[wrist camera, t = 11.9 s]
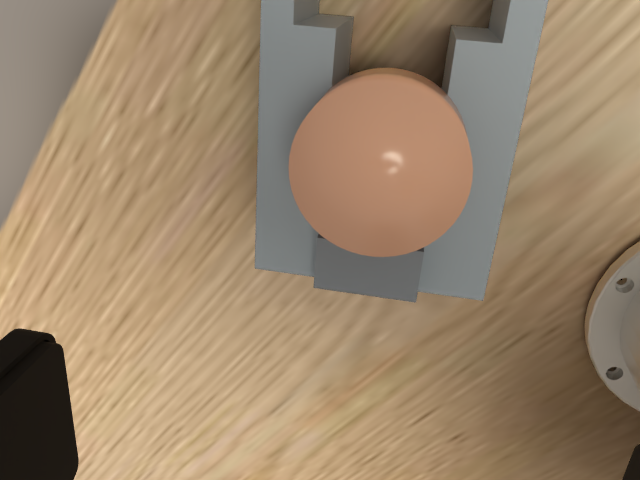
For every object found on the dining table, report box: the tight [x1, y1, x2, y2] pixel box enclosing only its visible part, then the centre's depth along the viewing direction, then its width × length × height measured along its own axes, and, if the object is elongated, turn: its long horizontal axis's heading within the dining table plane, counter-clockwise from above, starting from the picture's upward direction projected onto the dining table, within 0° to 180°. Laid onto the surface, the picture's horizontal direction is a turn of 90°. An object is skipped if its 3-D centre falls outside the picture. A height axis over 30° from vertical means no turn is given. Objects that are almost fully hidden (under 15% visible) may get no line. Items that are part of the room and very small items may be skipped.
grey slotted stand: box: [255, 0, 548, 302], centre depth 26 cm, size 16×11×7 cm, turn 176°
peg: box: [289, 68, 473, 257], centre depth 26 cm, size 7×7×8 cm
